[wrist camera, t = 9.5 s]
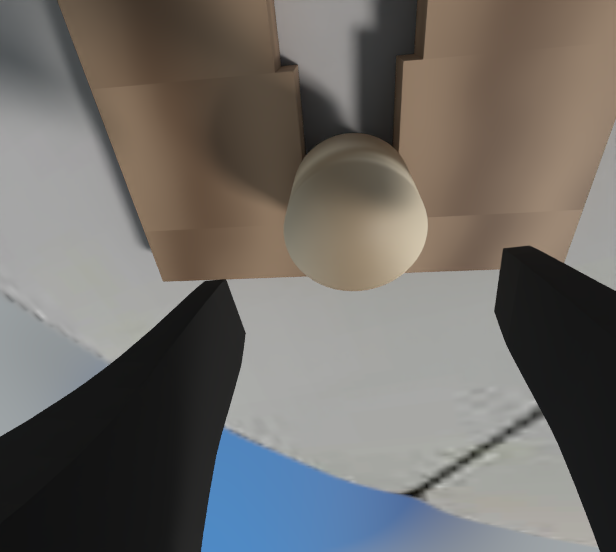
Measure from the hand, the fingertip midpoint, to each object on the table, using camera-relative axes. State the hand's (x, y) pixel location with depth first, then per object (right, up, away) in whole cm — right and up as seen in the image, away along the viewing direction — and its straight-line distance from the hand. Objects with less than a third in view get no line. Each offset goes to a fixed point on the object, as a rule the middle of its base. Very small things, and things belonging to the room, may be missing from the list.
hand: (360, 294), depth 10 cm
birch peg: (+1, +6, +8) cm, 10 cm away
